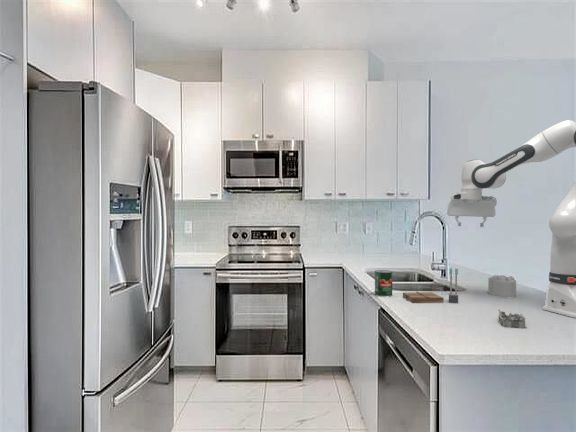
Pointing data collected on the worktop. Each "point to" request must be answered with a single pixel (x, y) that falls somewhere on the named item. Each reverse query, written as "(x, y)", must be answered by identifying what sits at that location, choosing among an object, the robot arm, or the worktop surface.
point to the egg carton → (512, 320)
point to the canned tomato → (383, 283)
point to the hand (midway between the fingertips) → (470, 226)
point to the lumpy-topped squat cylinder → (502, 286)
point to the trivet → (423, 297)
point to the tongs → (455, 297)
